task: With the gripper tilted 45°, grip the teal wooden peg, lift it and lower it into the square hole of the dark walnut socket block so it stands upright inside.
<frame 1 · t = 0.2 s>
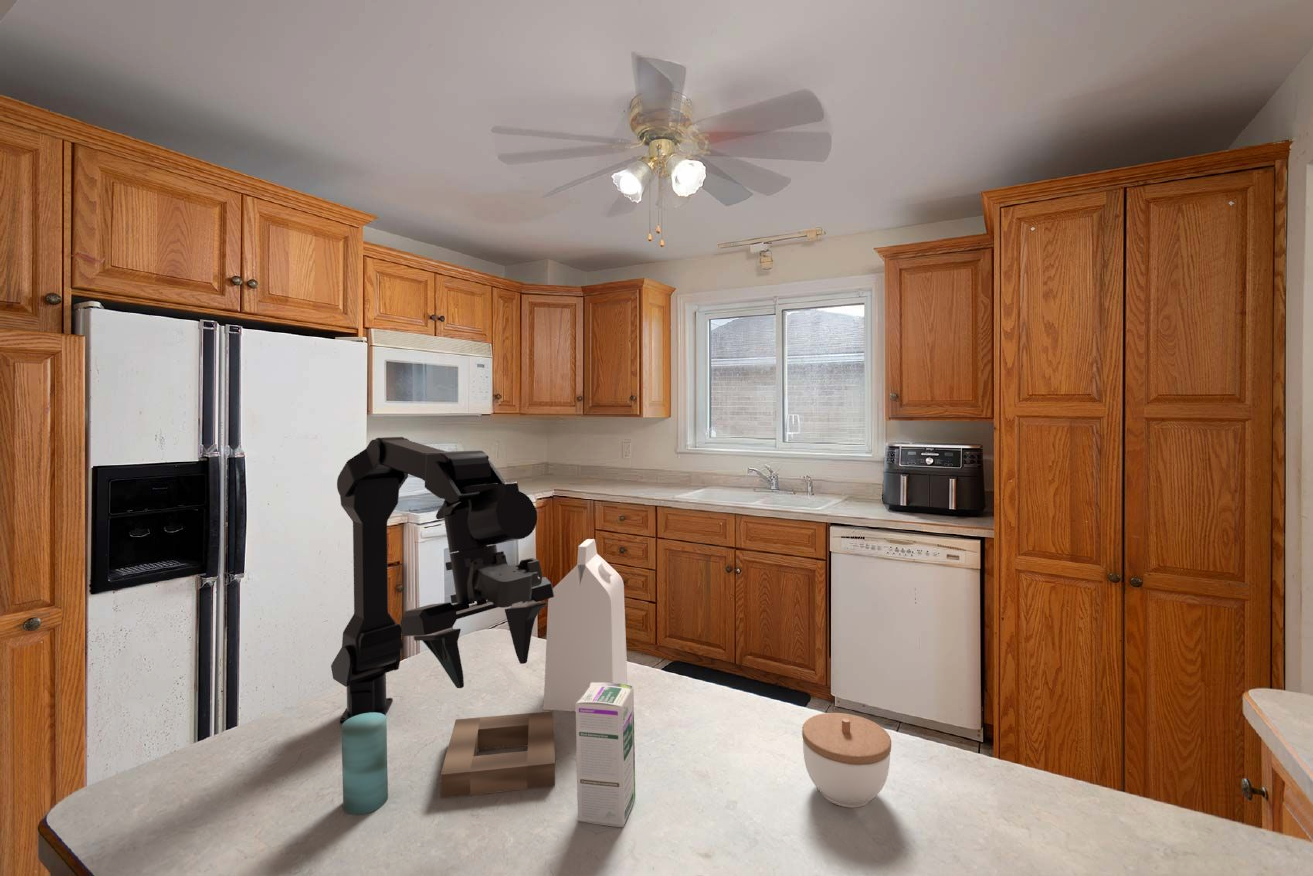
hand: (493, 675, 77), 16 cm above the counter, fingers open, 9 cm apart
milk: (587, 695, 106), on the counter
syrup box: (606, 811, 75), on the counter
teal peg: (365, 801, 77), on the counter
walnut socket block: (502, 761, 86), on the counter
lidded jar: (844, 794, 79), on the counter
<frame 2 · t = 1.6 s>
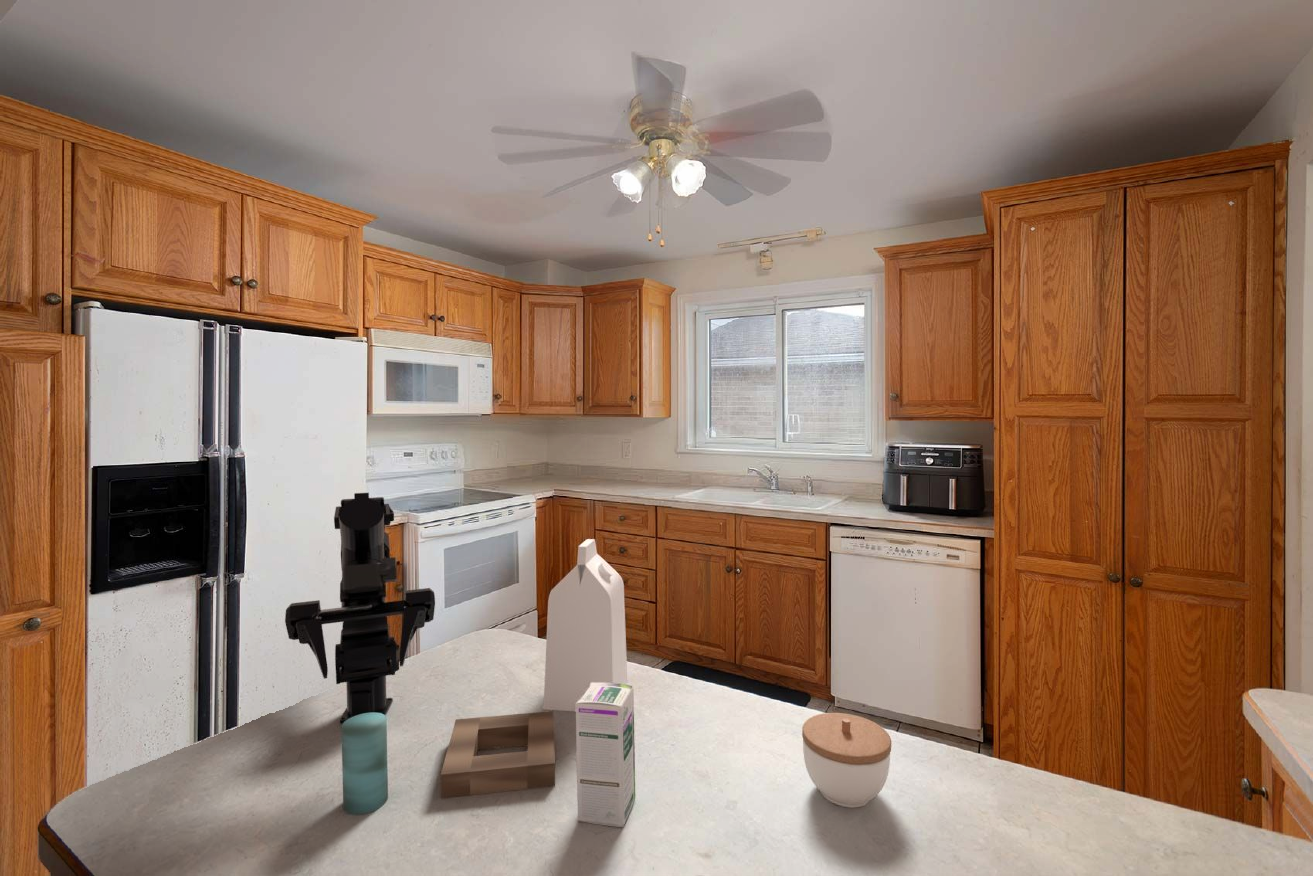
hand: (364, 671, 83), 13 cm above the counter, fingers open, 9 cm apart
nothing on the counter moved.
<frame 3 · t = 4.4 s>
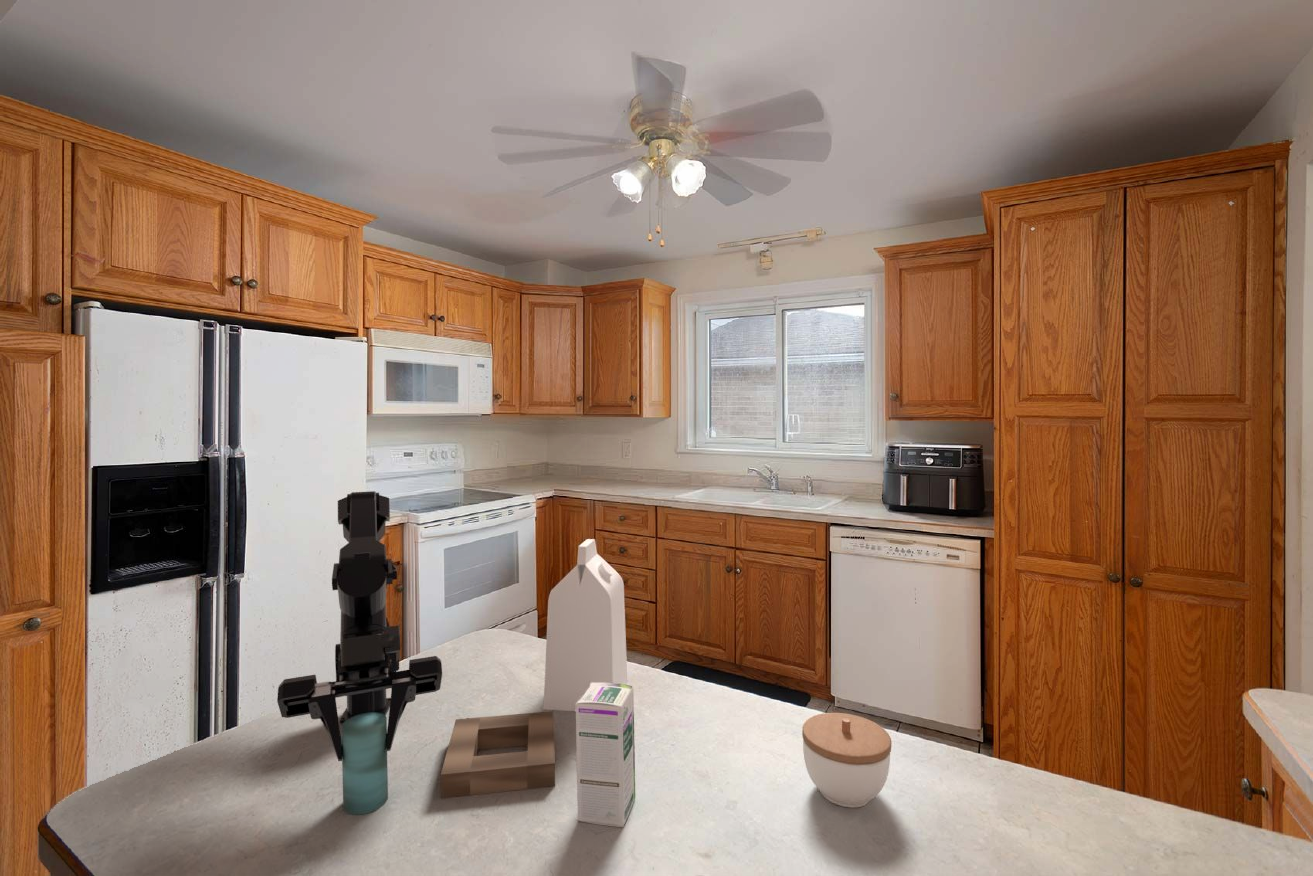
hand: (364, 754, 75), 7 cm above the counter, fingers closed on teal peg, 5 cm apart
teal peg: (365, 801, 77), on the counter, touching gripper
everything else where it was.
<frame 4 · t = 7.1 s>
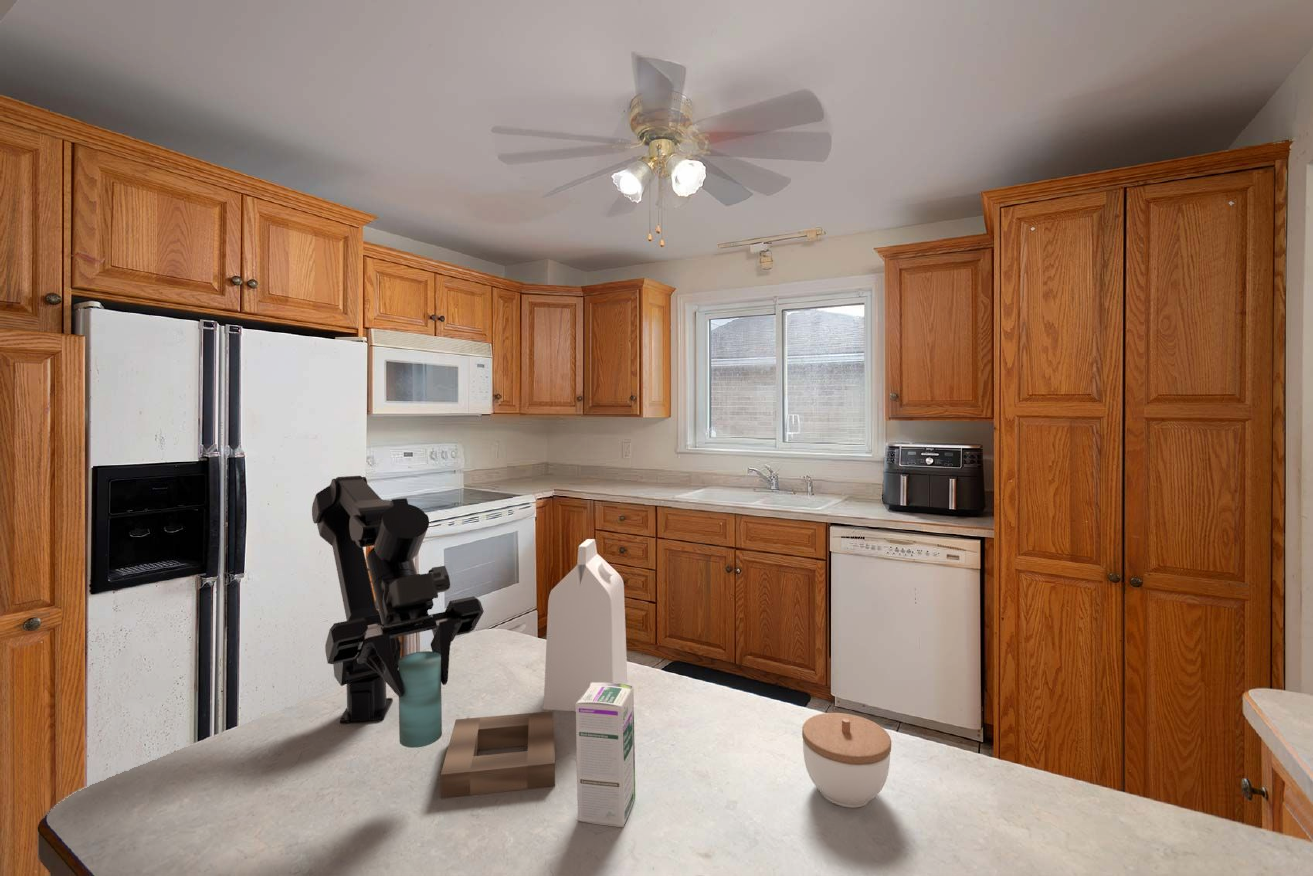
hand: (424, 689, 77), 14 cm above the counter, fingers closed on teal peg, 5 cm apart
teal peg: (420, 736, 79), point 7 cm above the counter, touching gripper
everything else where it was.
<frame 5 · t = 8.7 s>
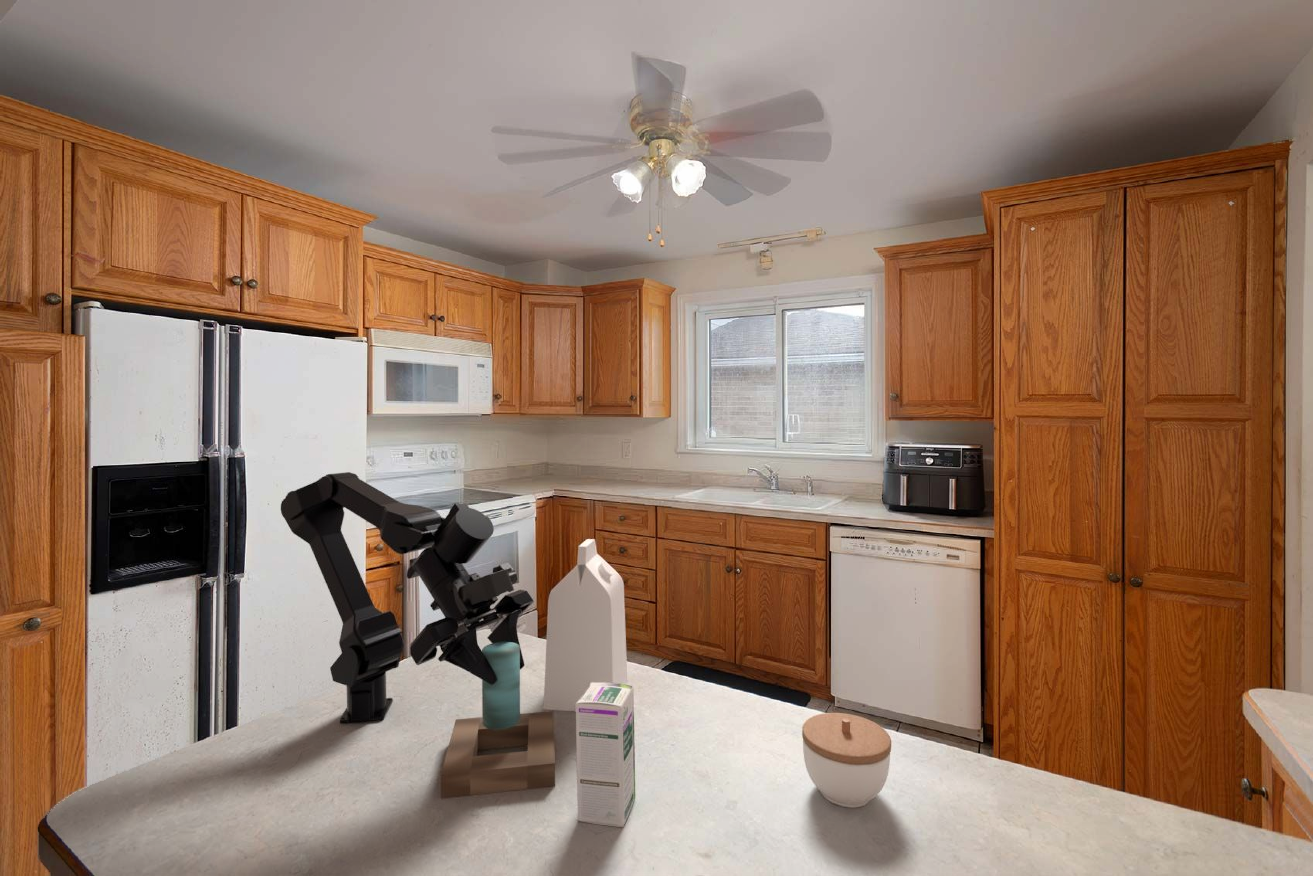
hand: (508, 675, 84), 12 cm above the counter, fingers closed on teal peg, 5 cm apart
teal peg: (501, 720, 85), point 6 cm above the counter, touching gripper
everything else where it was.
when the fingers open (8 cm above the counter, at t = 10.0 s): teal peg drops 1 cm, resting in walnut socket block.
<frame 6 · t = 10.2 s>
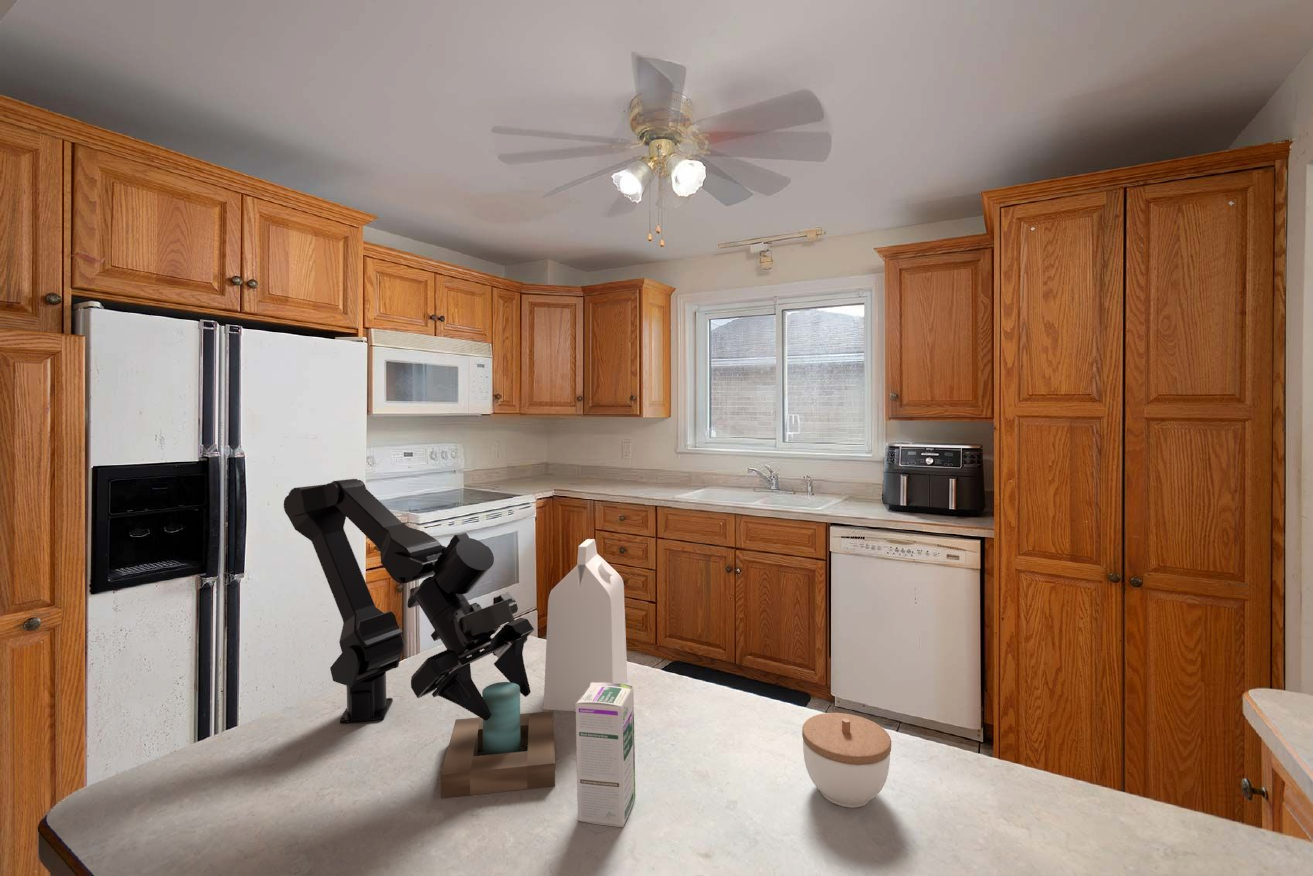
hand: (509, 706, 85), 8 cm above the counter, fingers open, 7 cm apart
teal peg: (502, 761, 86), resting in walnut socket block
everything else where it was.
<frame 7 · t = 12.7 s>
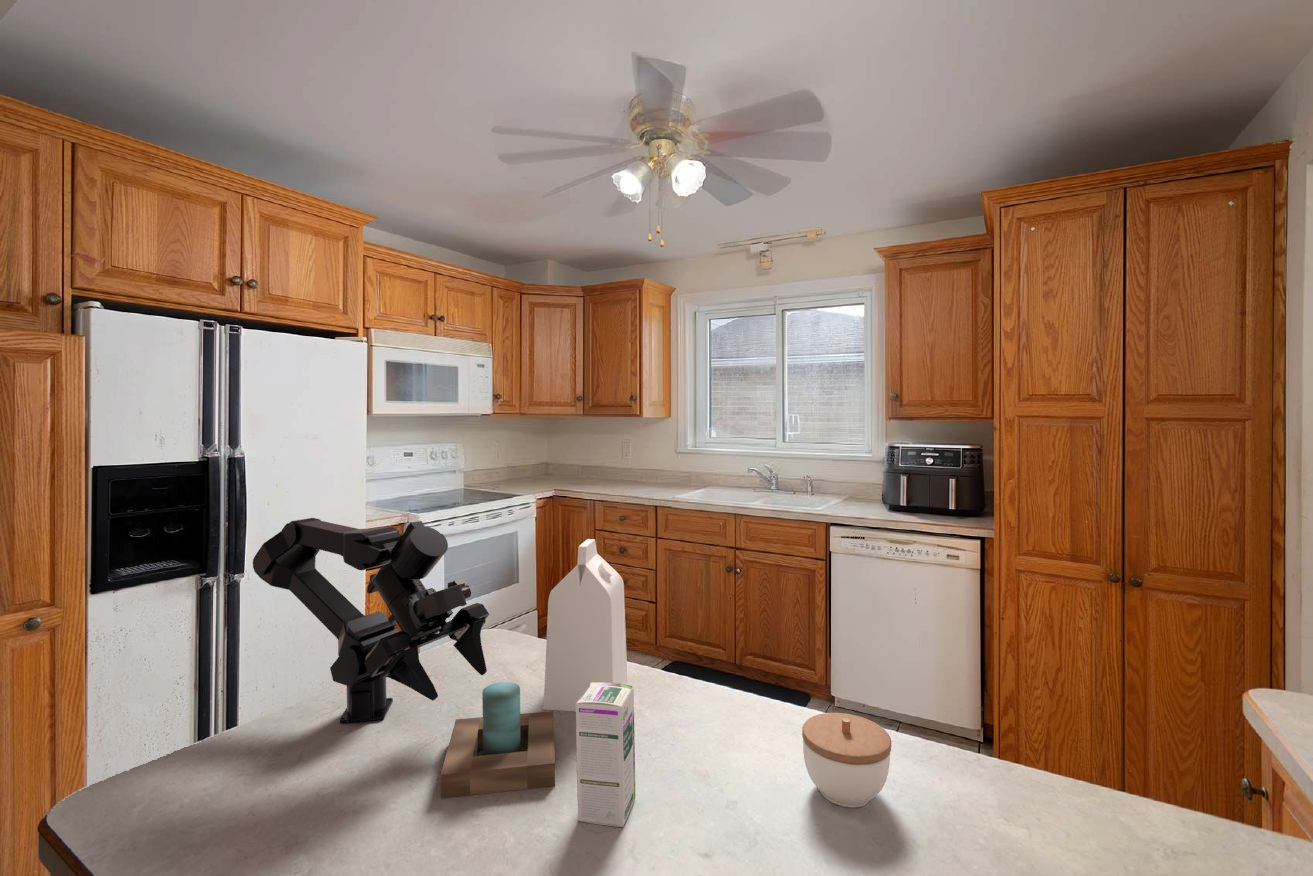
hand: (461, 685, 89), 9 cm above the counter, fingers open, 9 cm apart
nothing on the counter moved.
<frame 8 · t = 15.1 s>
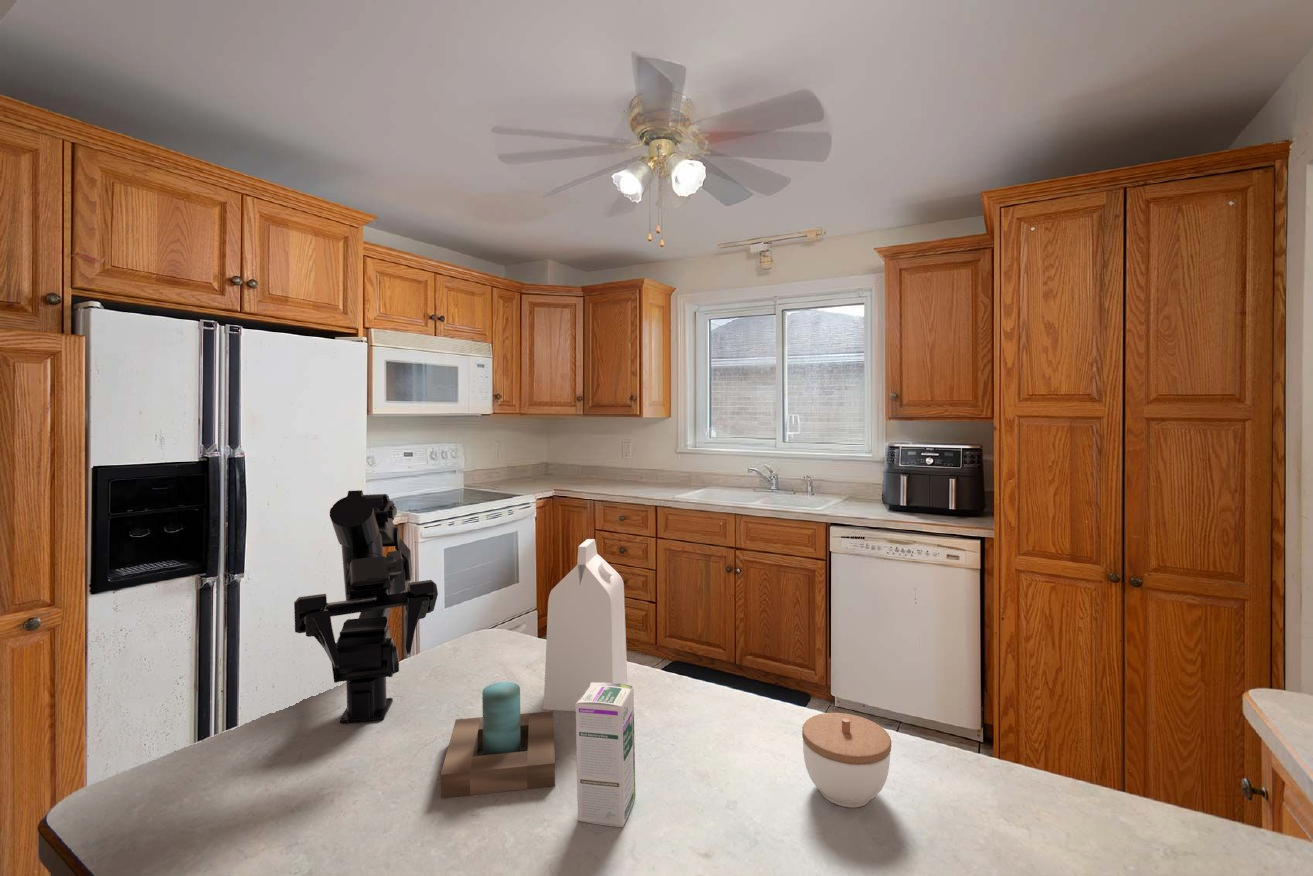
hand: (373, 659, 86), 14 cm above the counter, fingers open, 9 cm apart
nothing on the counter moved.
at the end: teal peg 0.0 cm off-centre on the walnut socket block, point 0.0 cm above the walnut socket block's base; teal peg tilted 0°; the gripper is holding nothing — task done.
